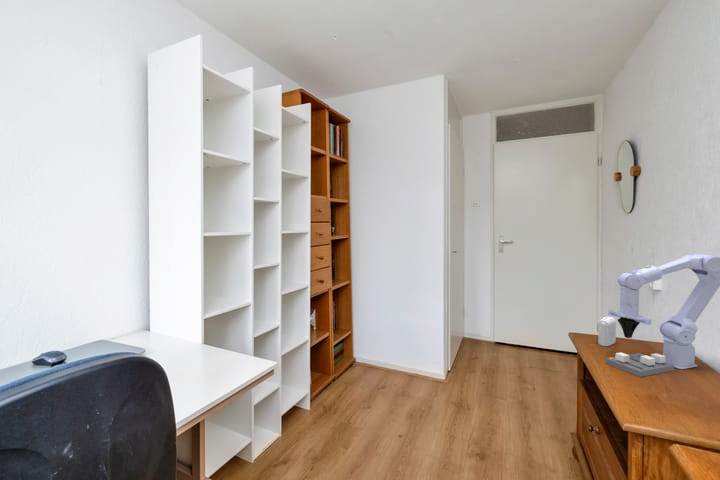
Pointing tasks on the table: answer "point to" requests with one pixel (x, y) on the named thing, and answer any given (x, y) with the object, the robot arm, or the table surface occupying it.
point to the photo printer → (607, 331)
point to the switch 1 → (622, 357)
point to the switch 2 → (658, 358)
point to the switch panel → (639, 366)
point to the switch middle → (647, 360)
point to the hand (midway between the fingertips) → (628, 337)
